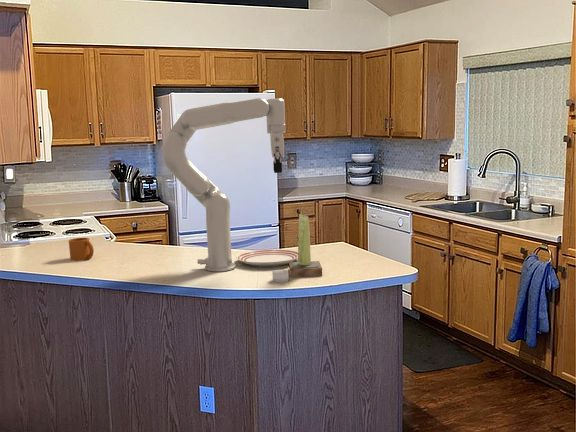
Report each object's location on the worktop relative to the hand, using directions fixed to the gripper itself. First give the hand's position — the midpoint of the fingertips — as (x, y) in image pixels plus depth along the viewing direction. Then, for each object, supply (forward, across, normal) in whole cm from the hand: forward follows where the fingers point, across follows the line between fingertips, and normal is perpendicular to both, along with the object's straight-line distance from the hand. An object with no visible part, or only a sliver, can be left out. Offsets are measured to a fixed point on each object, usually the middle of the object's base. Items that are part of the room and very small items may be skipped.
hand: (277, 171), depth 255 cm
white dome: (+38, -28, +1) cm, 48 cm away
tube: (+35, -18, -9) cm, 40 cm away
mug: (+39, +24, +89) cm, 100 cm away
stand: (+38, -18, -9) cm, 43 cm away
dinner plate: (+39, +3, +5) cm, 39 cm away
